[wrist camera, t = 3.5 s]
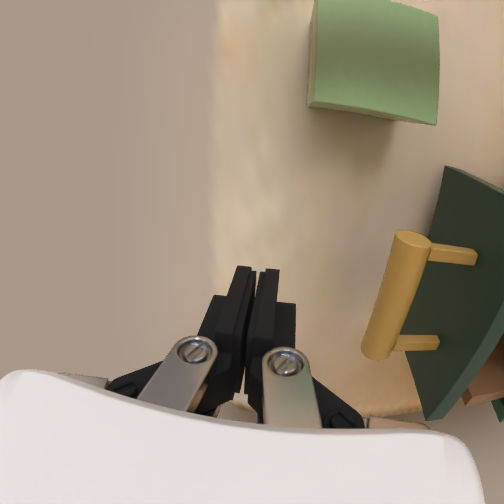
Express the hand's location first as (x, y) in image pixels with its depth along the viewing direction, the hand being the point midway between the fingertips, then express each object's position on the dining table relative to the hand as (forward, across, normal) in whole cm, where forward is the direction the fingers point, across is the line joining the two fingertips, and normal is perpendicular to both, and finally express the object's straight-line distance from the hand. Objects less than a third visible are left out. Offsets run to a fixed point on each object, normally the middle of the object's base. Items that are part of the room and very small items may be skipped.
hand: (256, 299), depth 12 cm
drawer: (+5, -14, 0) cm, 15 cm away
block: (+6, -4, -10) cm, 13 cm away
